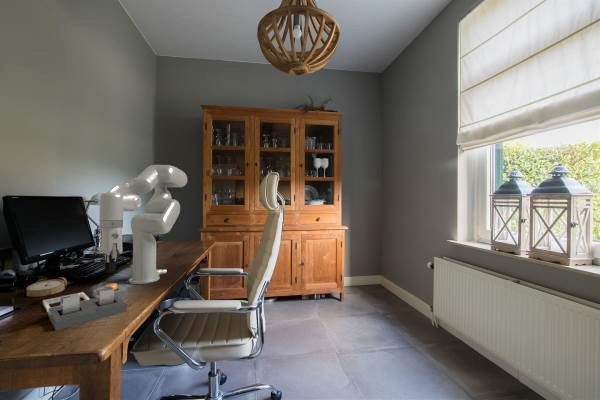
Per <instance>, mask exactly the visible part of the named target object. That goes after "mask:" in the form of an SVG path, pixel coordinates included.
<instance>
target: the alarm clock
mask: <svg viewBox="0 0 600 400" xmlns="http://www.w3.org/2000/svg"><path fill="white" fill-rule="evenodd" d="M67 284H68V280H67V279H66V277H60V276H59V277H56V278H53V279H48V278H42V279H40V278H39V280H37V281H36V282H35V283H32V284H30V285H28V286H27V287H26V296H27V297H44V296H49V295H54V294H57V293H61V292H63V291H64V290H65V289H66V286H67Z"/></svg>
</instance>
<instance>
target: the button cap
mask: <svg viewBox="0 0 600 400" xmlns="http://www.w3.org/2000/svg"><path fill="white" fill-rule="evenodd" d="M117 285H118V283H116V282H113V283H107V284H105V285H104V288H105V287H112V288H113V289H114V291H117Z"/></svg>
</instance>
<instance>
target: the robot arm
mask: <svg viewBox="0 0 600 400" xmlns="http://www.w3.org/2000/svg"><path fill="white" fill-rule="evenodd" d="M187 183H188V176H187V174H186V173H185V172H184V171H183V170H182V169H180V168H178V167H176V166H174V165H169V164H152V165H149V166H147V167H146V168H145V169H144V170H143V171H142V172H141V173H139V174H138V175H137V176H136V177H135V178H134V177H133V178H132V179H129V180H126V181H123V182H121V183H118V184H117V185H114V186H113V187H111V188H110V189H108V191H107V192H104V193H101V194H100V196H99V225H98V226H99V227H98V228H99V230H101V239H100V251H101V253H103V254H104V273H105V274H109V273H115V272H117V271H116V269H117V268H116V265H117V263H116V262H117V256H118V255H117V254H119V255H121V254H122V253H123V233H122V232H123V231H122V229H123V228H124V212H136V211H138V210H139V209H140V208H141V206H142V204H143V203H142V202H143V201H142V198H141V197H140V196H141V195H145V194H148V193H150V192H151V191H153V189H154V193H153V195H152V196H151V197H150V199H149V200H148V201H147V204H146V205H145V207H144V212H143V213H138V214H135V215H134V216H133V217H131V220H130V229H131V234H132V277H130V278H129V279H128V283H129V284H131V285H146V284H150V283H155V282H158V281H159V280H160V278H161V277H160V276H161V275H162V274H167V272H168V271H167V268H165V269H162V268H161V269H158V268H157V241H156V240H157V239H156V238H155V237H154V235H156V234H157V235H164V234H167V233H169V232H170V231H171V230H172V228H173V226H174V224H175V223H176V221H177V219H178V217H179V215H180V212H181V204H180V202H179V200H176V199H173V198H172V194H171V192H170V191H169V190H168V188H183V187H185V186H186V185H187Z"/></svg>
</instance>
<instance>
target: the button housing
mask: <svg viewBox="0 0 600 400" xmlns="http://www.w3.org/2000/svg"><path fill="white" fill-rule="evenodd" d="M114 294H115V295H116V296H117V297H118V298H120V299H122V298H126V297H128V296H129V290H128V288H126V287H124V286H123V285H122V284H117V291H114ZM96 297H97V289H94V290H93V299H94V298H96Z"/></svg>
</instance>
